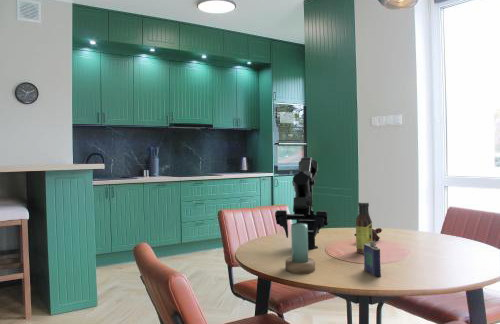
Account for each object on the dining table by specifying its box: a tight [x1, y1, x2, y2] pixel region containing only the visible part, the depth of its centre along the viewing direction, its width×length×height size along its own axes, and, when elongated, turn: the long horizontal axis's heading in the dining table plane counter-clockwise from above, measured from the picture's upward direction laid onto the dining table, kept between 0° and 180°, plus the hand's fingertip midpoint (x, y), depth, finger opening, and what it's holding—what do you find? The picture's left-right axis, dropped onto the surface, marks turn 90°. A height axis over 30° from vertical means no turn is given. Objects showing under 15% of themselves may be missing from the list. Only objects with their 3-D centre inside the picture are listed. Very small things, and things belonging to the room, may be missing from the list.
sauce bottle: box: [355, 201, 373, 254], centre depth 159 cm, size 7×6×20 cm
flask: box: [363, 240, 382, 278], centre depth 131 cm, size 9×3×11 cm, turn 8°
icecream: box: [354, 227, 383, 241], centre depth 178 cm, size 7×7×15 cm
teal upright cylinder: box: [290, 222, 309, 263], centre depth 136 cm, size 6×6×12 cm
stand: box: [284, 257, 316, 275], centre depth 136 cm, size 10×10×3 cm
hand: (300, 237), depth 139 cm, fingers open, 9 cm apart
